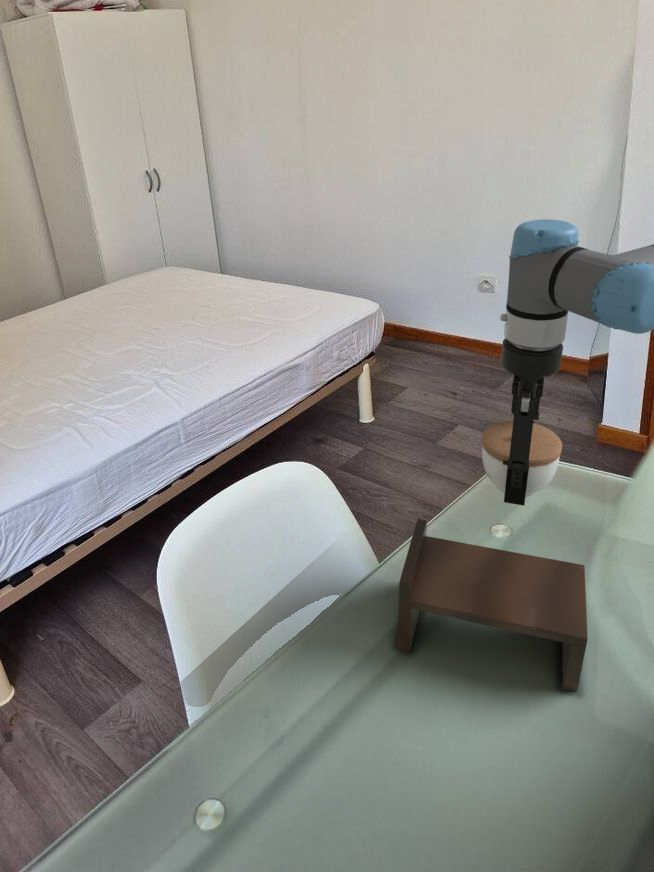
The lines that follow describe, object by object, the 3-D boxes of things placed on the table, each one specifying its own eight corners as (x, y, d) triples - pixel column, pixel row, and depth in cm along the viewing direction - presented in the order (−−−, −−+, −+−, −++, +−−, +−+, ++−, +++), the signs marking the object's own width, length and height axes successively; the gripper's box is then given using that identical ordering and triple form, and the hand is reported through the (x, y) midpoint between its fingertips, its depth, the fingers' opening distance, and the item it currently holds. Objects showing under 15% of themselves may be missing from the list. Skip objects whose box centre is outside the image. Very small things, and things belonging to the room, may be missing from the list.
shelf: (575, 616, 103) (587, 548, 97) (576, 693, 91) (591, 621, 85) (414, 583, 111) (417, 518, 105) (397, 649, 99) (399, 581, 93)
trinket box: (570, 500, 96) (579, 443, 92) (498, 512, 95) (504, 455, 91) (532, 459, 106) (539, 406, 102) (466, 469, 104) (470, 416, 100)
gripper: (510, 307, 101) (498, 435, 111) (494, 375, 82) (481, 523, 91) (565, 311, 98) (548, 442, 108) (561, 382, 79) (541, 534, 89)
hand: (517, 479), depth 100 cm, fingers closed on trinket box, 11 cm apart
